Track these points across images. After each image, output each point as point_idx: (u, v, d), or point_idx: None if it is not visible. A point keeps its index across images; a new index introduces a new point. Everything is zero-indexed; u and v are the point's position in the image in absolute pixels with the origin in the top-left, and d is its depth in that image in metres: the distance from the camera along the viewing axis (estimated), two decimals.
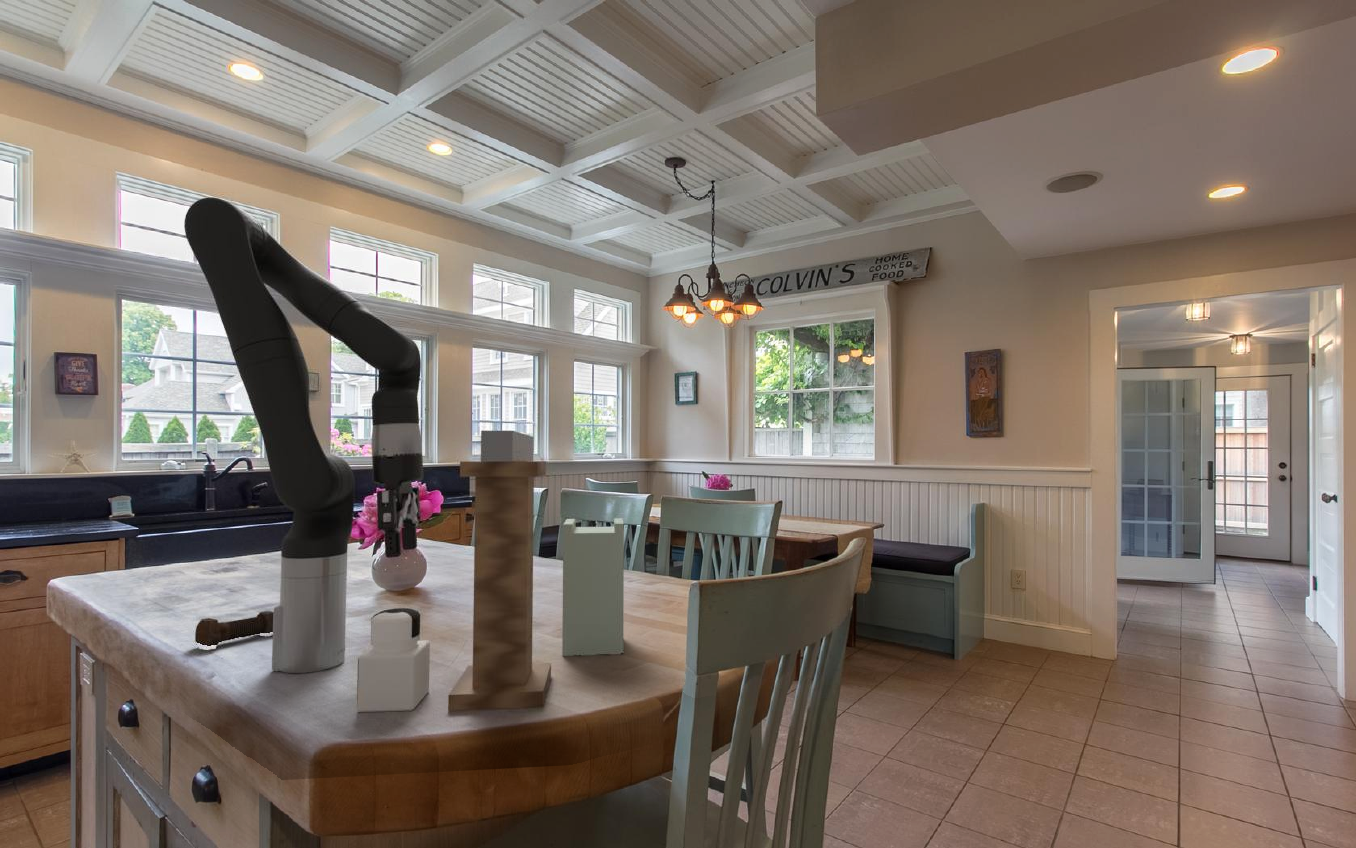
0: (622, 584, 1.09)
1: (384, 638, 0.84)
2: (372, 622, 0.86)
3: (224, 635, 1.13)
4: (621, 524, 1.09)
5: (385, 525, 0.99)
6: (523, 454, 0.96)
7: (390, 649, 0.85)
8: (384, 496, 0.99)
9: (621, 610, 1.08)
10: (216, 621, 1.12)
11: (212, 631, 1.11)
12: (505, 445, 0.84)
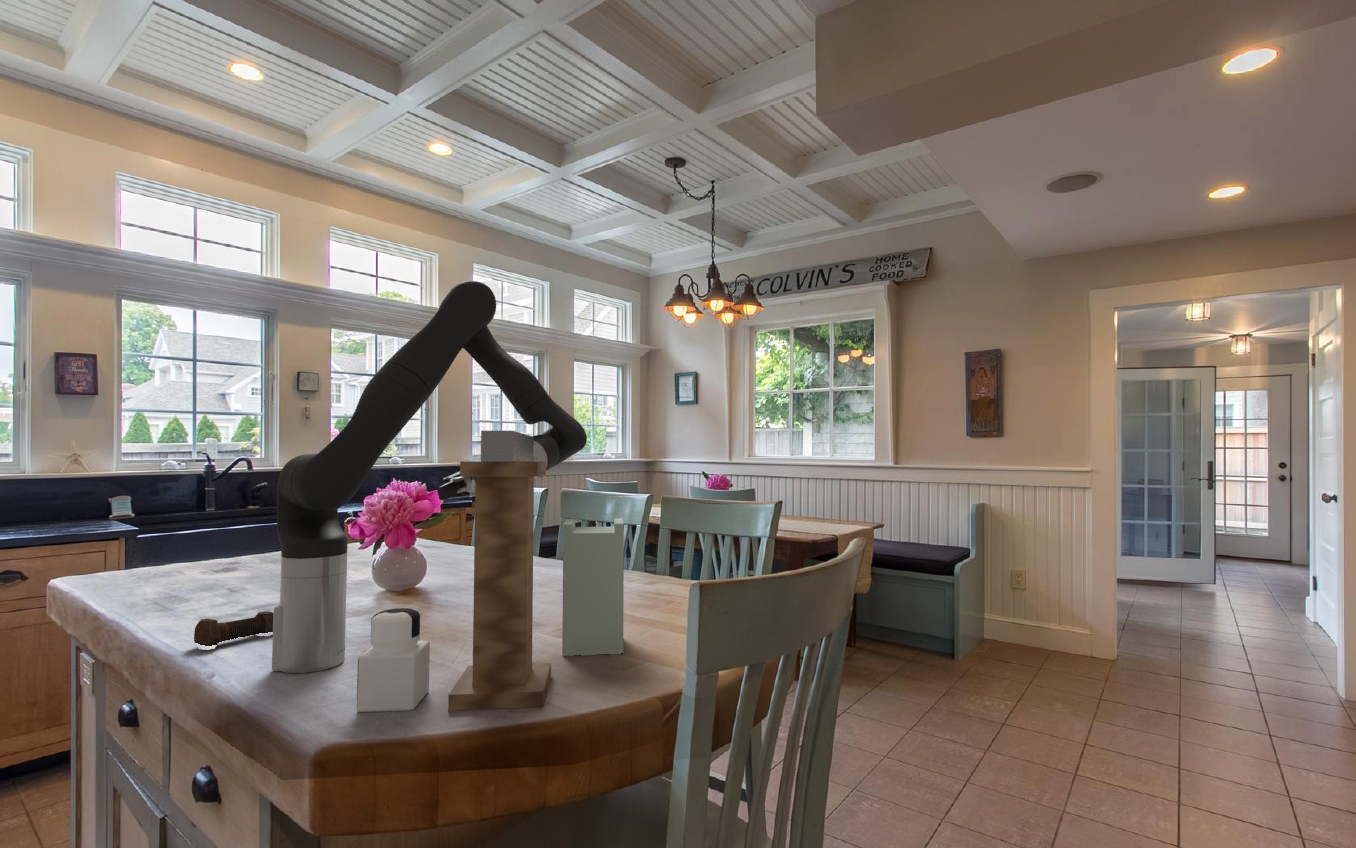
0: (622, 584, 1.09)
1: (384, 638, 0.84)
2: (372, 622, 0.86)
3: (223, 635, 1.13)
4: (621, 524, 1.09)
5: None
6: (523, 454, 0.96)
7: (390, 649, 0.85)
8: None
9: (621, 610, 1.08)
10: (215, 621, 1.12)
11: (211, 632, 1.11)
12: (505, 445, 0.84)
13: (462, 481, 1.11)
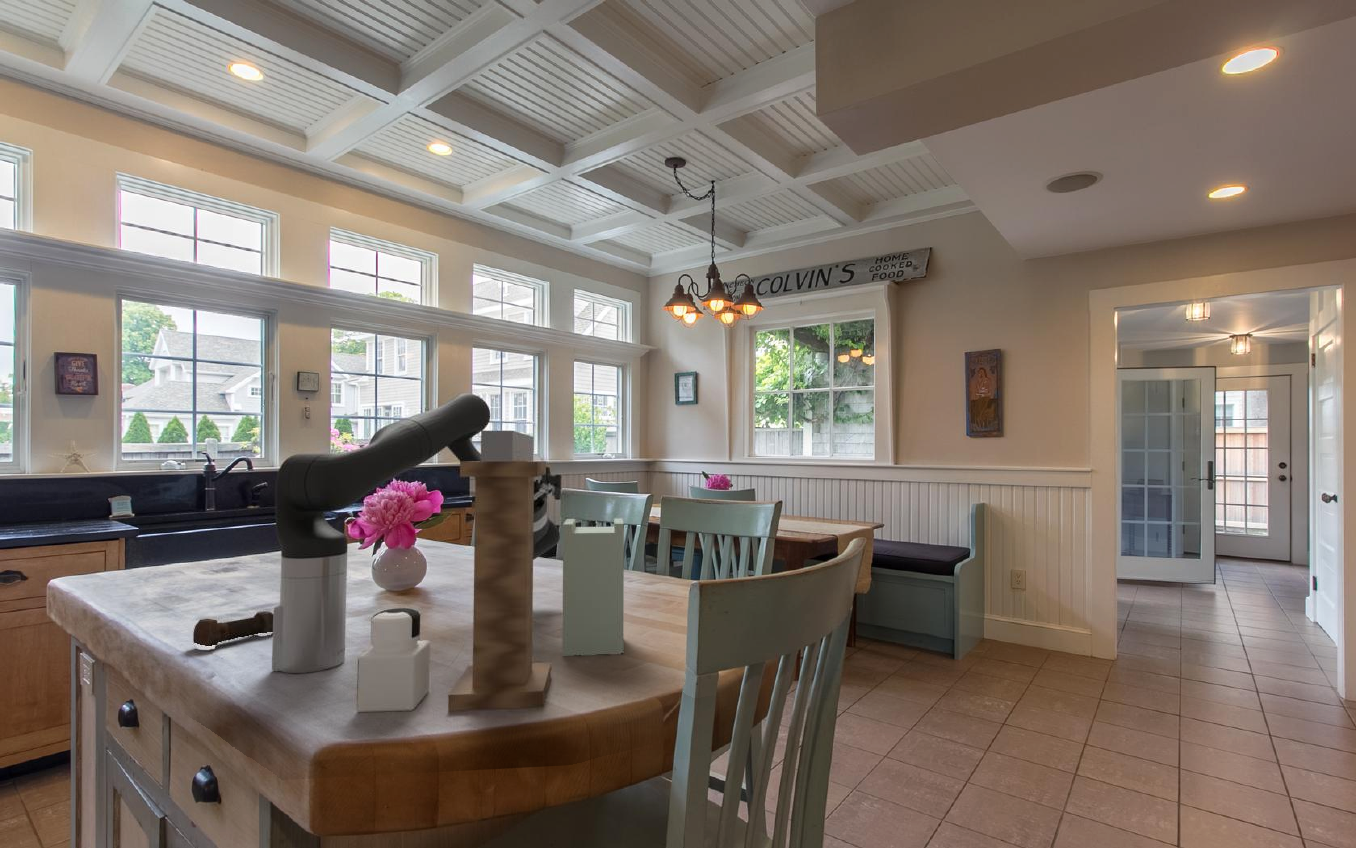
0: (622, 584, 1.09)
1: (384, 638, 0.84)
2: (372, 622, 0.86)
3: (223, 635, 1.13)
4: (621, 524, 1.09)
5: (560, 481, 1.24)
6: (523, 454, 0.96)
7: (390, 649, 0.85)
8: None
9: (621, 610, 1.08)
10: (215, 621, 1.12)
11: (211, 632, 1.11)
12: (505, 445, 0.84)
13: None
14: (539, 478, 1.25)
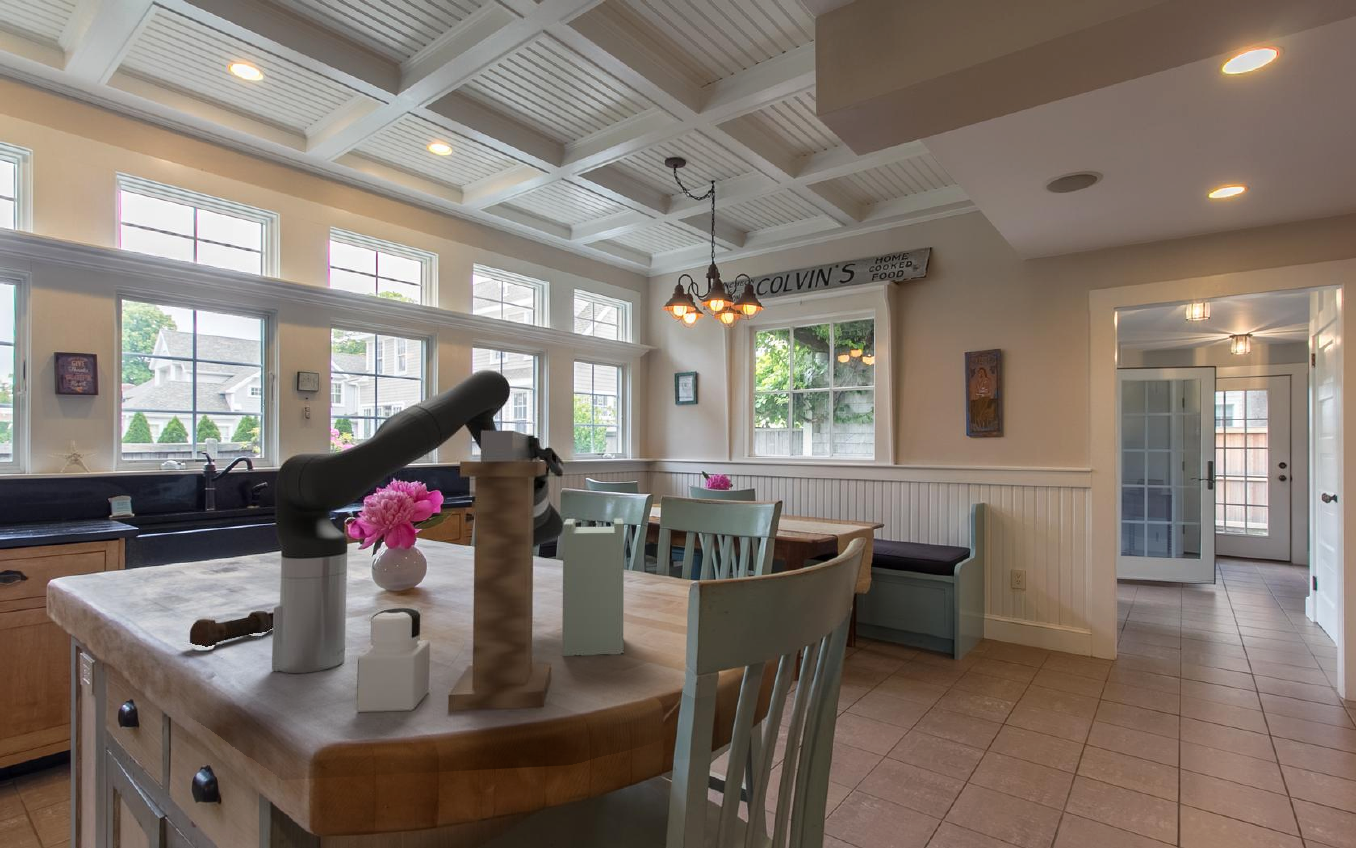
0: (622, 584, 1.09)
1: (384, 638, 0.84)
2: (372, 622, 0.86)
3: (221, 635, 1.13)
4: (621, 524, 1.09)
5: (551, 455, 1.08)
6: (523, 454, 0.96)
7: (390, 649, 0.85)
8: (561, 466, 1.11)
9: (621, 610, 1.08)
10: (214, 621, 1.12)
11: (211, 632, 1.10)
12: (505, 445, 0.84)
13: None
14: None
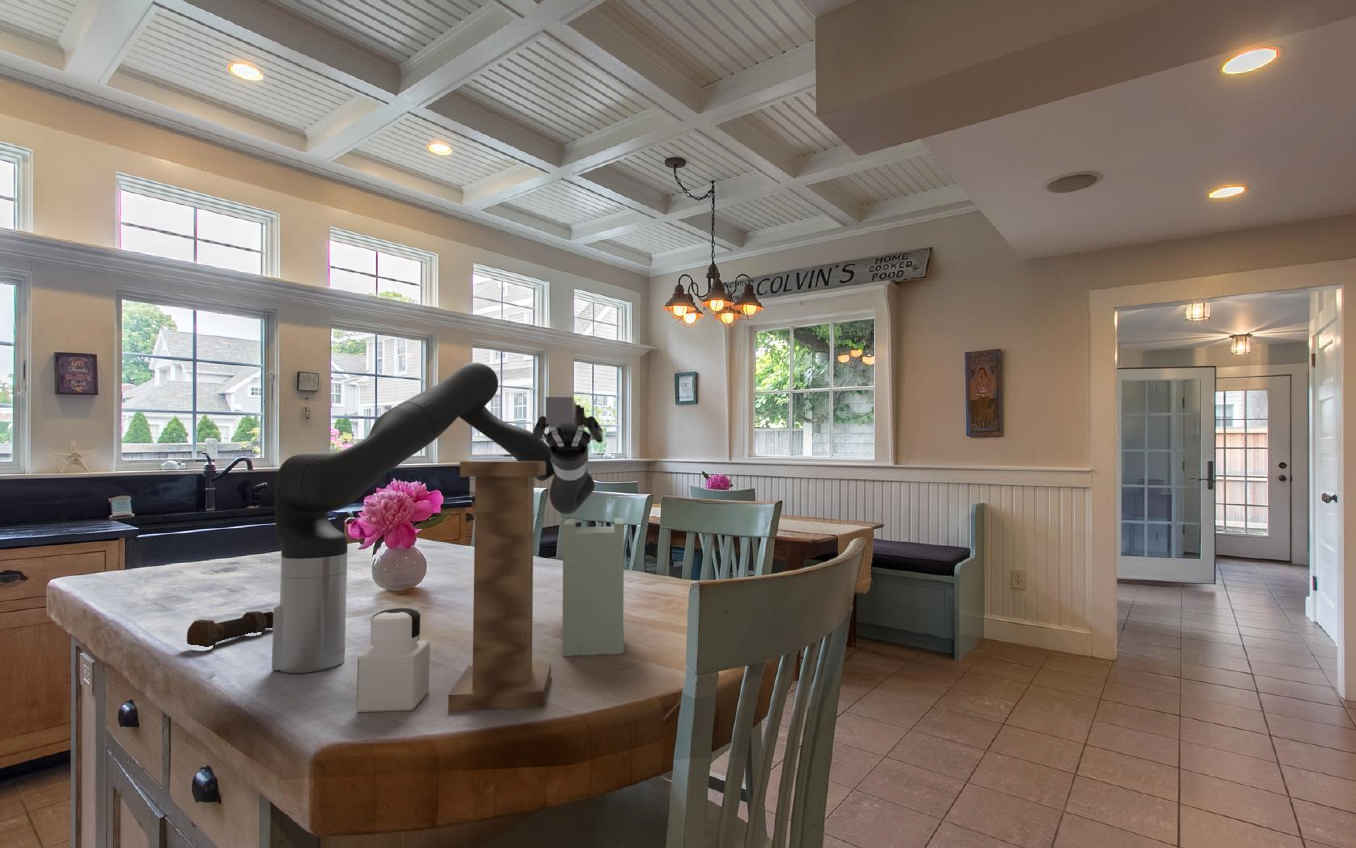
0: (622, 584, 1.09)
1: (384, 638, 0.84)
2: (372, 622, 0.86)
3: (219, 636, 1.12)
4: (621, 524, 1.09)
5: (594, 423, 1.23)
6: None
7: (390, 649, 0.85)
8: (601, 433, 1.27)
9: (621, 610, 1.08)
10: (212, 622, 1.11)
11: (210, 632, 1.10)
12: (566, 409, 1.00)
13: None
14: None
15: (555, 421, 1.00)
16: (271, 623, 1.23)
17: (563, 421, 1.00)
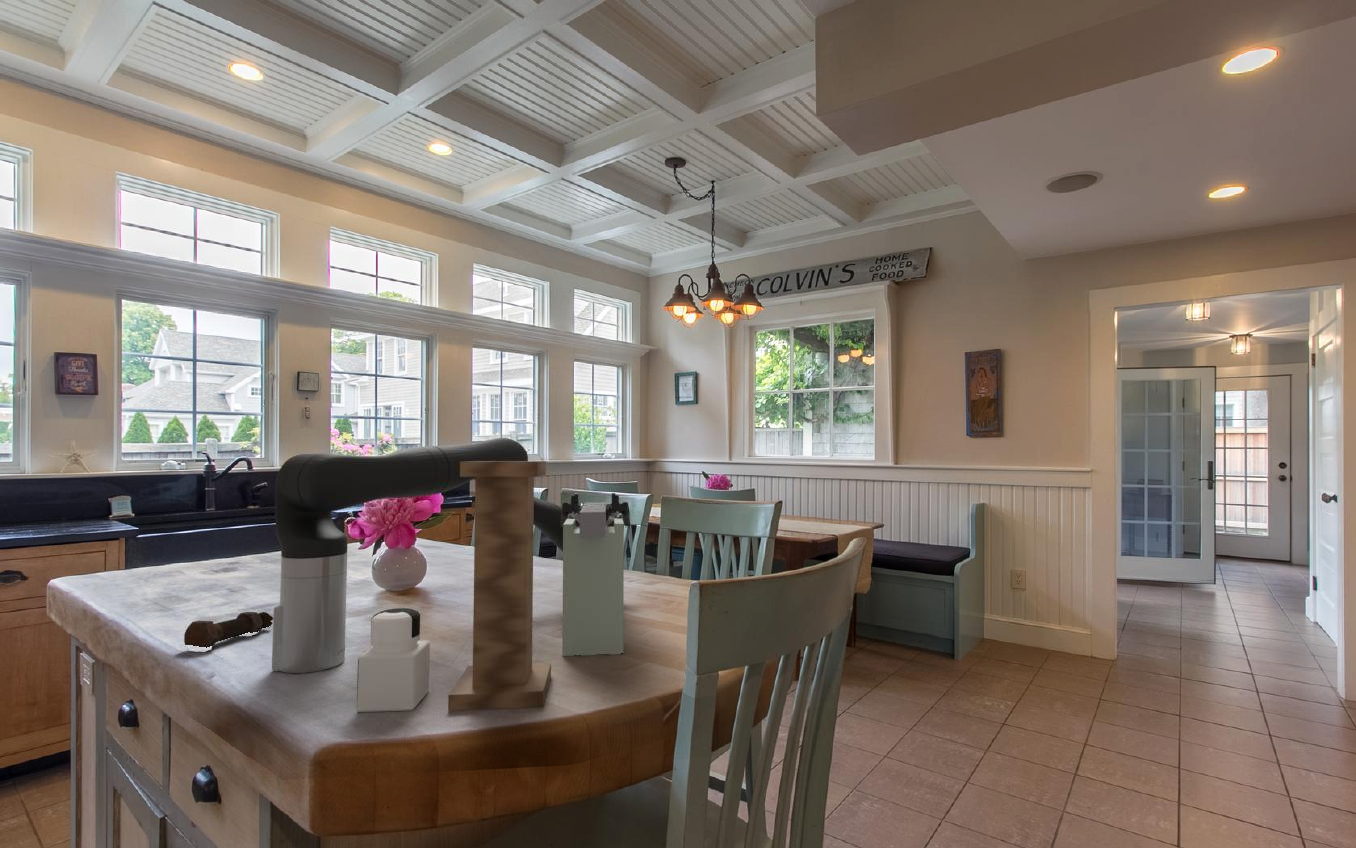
0: (622, 584, 1.09)
1: (384, 638, 0.84)
2: (372, 622, 0.86)
3: None
4: (621, 524, 1.09)
5: (627, 509, 1.26)
6: None
7: (390, 649, 0.85)
8: None
9: (621, 610, 1.08)
10: (212, 622, 1.11)
11: (210, 633, 1.10)
12: (599, 524, 1.02)
13: (567, 517, 1.27)
14: (608, 506, 1.27)
15: (588, 536, 1.02)
16: (265, 623, 1.23)
17: (596, 536, 1.02)
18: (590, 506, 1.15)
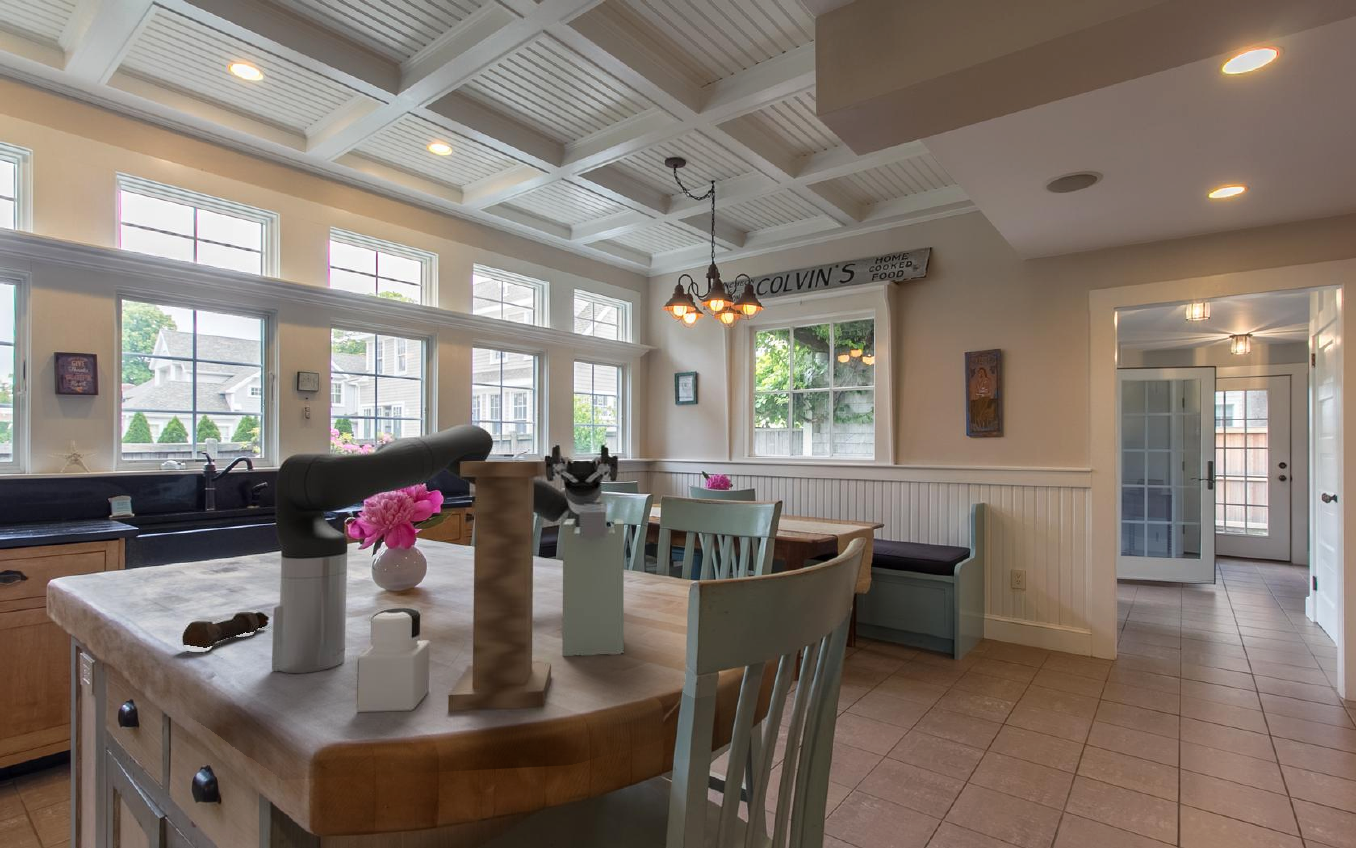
0: (622, 584, 1.09)
1: (384, 638, 0.84)
2: (372, 622, 0.86)
3: None
4: (621, 524, 1.09)
5: (617, 462, 1.28)
6: None
7: (390, 649, 0.85)
8: None
9: (621, 610, 1.08)
10: (211, 623, 1.11)
11: (210, 633, 1.10)
12: (599, 524, 1.02)
13: (552, 470, 1.29)
14: (596, 459, 1.29)
15: (588, 536, 1.02)
16: (262, 623, 1.23)
17: (596, 536, 1.02)
18: (590, 506, 1.15)
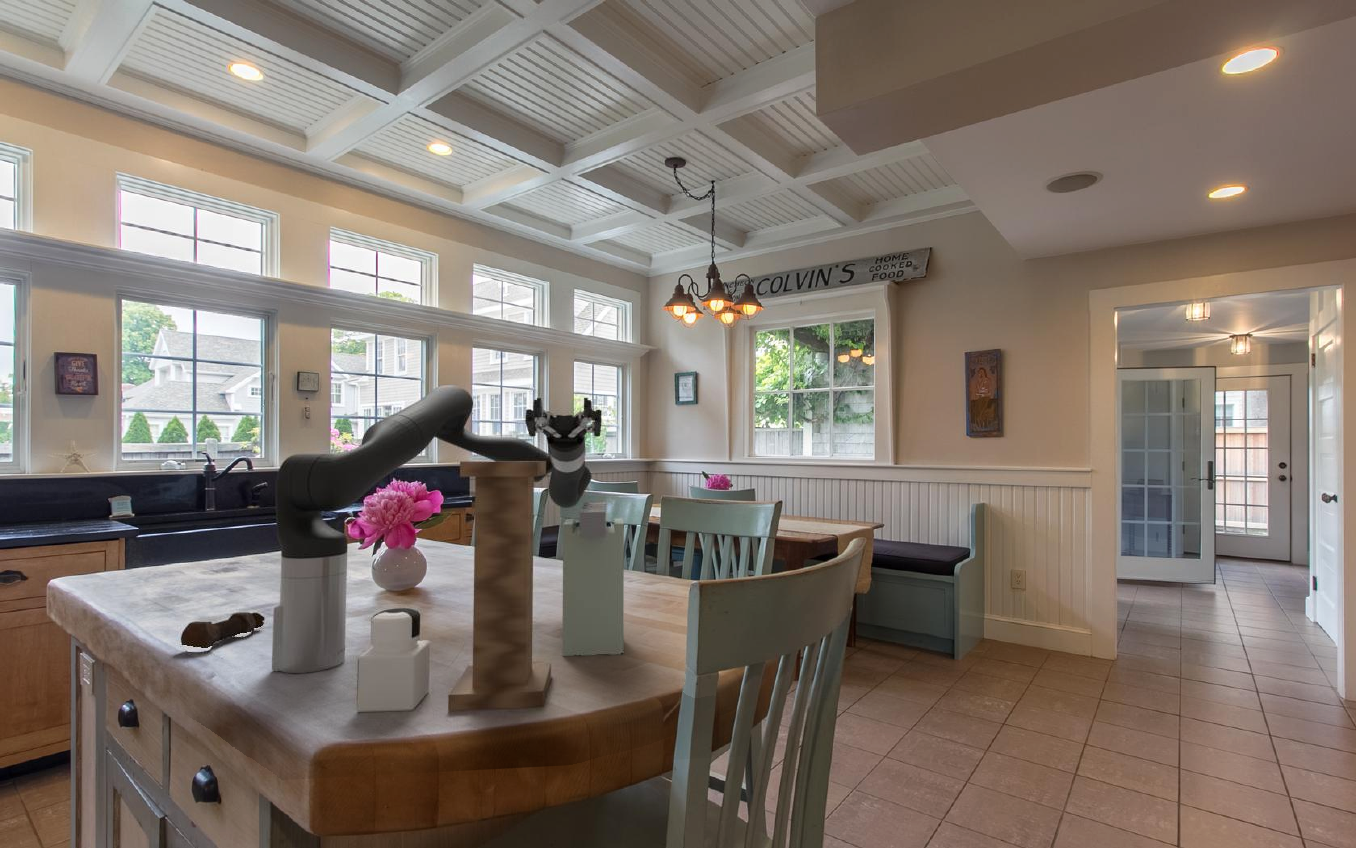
0: (622, 584, 1.09)
1: (384, 638, 0.84)
2: (372, 622, 0.86)
3: None
4: (621, 524, 1.09)
5: None
6: None
7: (390, 649, 0.85)
8: None
9: (621, 610, 1.08)
10: (210, 623, 1.11)
11: (210, 633, 1.10)
12: (599, 524, 1.02)
13: (534, 425, 1.25)
14: (579, 413, 1.25)
15: (588, 536, 1.02)
16: (258, 624, 1.23)
17: (596, 536, 1.02)
18: (590, 506, 1.15)
